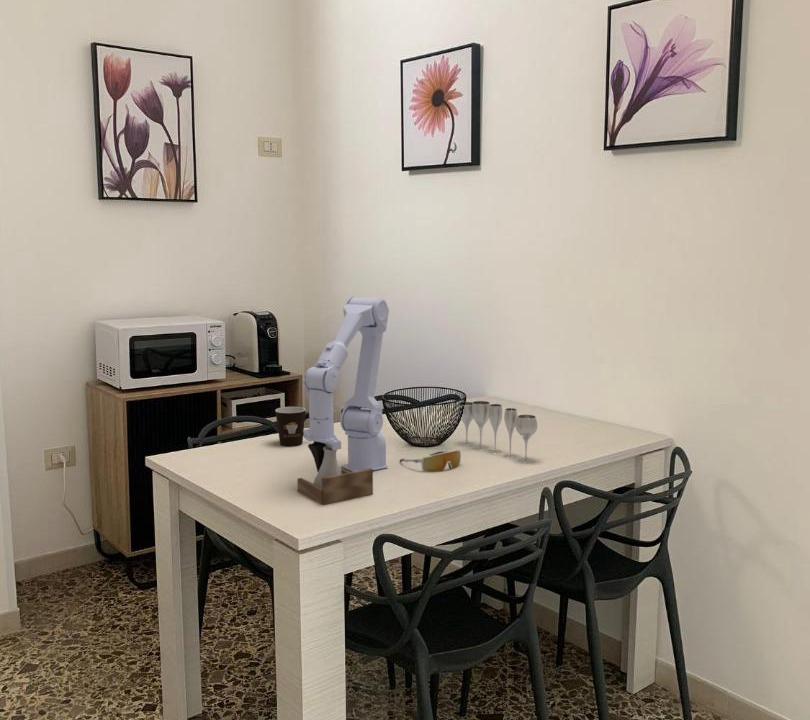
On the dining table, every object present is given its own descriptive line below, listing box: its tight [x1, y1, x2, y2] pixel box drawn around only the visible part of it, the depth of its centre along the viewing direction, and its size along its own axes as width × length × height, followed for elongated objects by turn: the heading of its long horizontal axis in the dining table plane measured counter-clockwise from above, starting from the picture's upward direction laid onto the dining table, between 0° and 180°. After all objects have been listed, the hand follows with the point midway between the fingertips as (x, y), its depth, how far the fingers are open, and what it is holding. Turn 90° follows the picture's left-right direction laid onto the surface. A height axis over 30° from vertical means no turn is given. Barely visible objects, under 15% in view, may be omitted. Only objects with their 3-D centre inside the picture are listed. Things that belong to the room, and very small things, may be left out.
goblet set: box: [458, 400, 538, 464], centre depth 229 cm, size 28×6×13 cm, turn 40°
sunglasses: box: [399, 449, 462, 473], centre depth 218 cm, size 14×15×5 cm
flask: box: [312, 446, 341, 488], centre depth 195 cm, size 7×7×10 cm
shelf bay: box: [296, 468, 374, 506], centre depth 194 cm, size 13×12×6 cm
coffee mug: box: [275, 406, 310, 448], centre depth 238 cm, size 12×9×10 cm
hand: (322, 472), depth 198 cm, fingers closed
